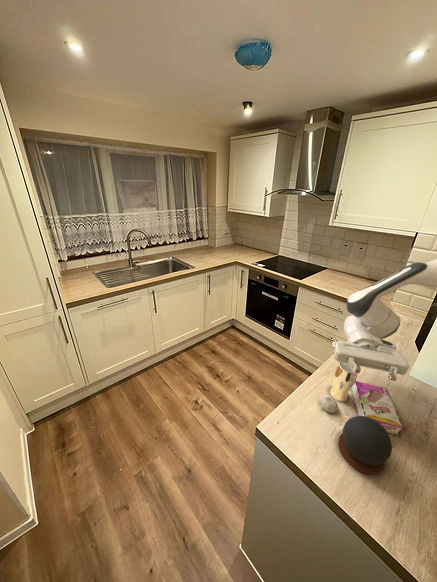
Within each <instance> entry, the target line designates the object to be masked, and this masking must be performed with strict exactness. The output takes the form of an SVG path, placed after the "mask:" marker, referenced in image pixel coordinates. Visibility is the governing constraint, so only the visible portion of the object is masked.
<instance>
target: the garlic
mask: <svg viewBox="0 0 437 582" xmlns="http://www.w3.org/2000/svg"><path fill="white" fill-rule="evenodd" d="M320 406H321V408H322V410H324V411H325V412H328V413H332V414H333V413H335V412H337V411H338V410H339V405H338V402H337V400H336V399H335V398H333V397H332V396H329V395H326V396H321V398H320Z"/></svg>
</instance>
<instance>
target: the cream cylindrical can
mask: <svg viewBox="0 0 437 582" xmlns="http://www.w3.org/2000/svg"><path fill="white" fill-rule="evenodd" d="M358 376H359V373H356V372H354V371H353V368H351V367H350V366H349V365H348V364H347V363H344V362H339V361H338V364H337V365H336V368H335V371H334V374H333V384H332V387H331V389H330V392H329V394H330V396H331V397H332V398H333V399H334V400H335V401H338V402H346V401H347V399H348V394H349V393H350V391H351V390H352V387H353V385H354V383H355V381H357V378H358Z"/></svg>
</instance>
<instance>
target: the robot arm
mask: <svg viewBox="0 0 437 582" xmlns="http://www.w3.org/2000/svg"><path fill="white" fill-rule="evenodd" d="M408 285H415V286H416V285H417V286H420V287H423V288H426V289H428V290H431V291H435V292H437V258H435V259H433V260H431V261H428V262H427V261H426V262H420V261H419V262H418V261H417V262H414V263H411V264H408V265H406V266H404V267H402V268H400V269H398V270H396V271H395V272H393V273H391V274H389V275H386V276H385V277H383V278H382V279H380V280H378V281H376V282H374V283H372V284H370V285H368V286H366V287H364V288H361V289H358V290H356V291H354V292H353V293H351V294H350V295H349V296H348V297H347V299H346V310H347V313H349V314H351V315H348V316H347V317H346V318H345V320H344V323H343V332H344V335H345V338H346V339H347V341H344V340H338V339H337V340H333V341H332V342H331V346H332V349H333V358H334V360H335V361H336V362H338V363H339V362H344V363H347V364H348V365H349V366H350V367H351V368H353V371H354V372H356V373H358V374H361V371H362V368H368V369H372V370H376V371H381V372H382V371H383V372H385V373H386V372H387V373H388V375H387V377H388V381H389V380H390V381H392V382H393V381H394V382H397V380H398V375H401V376H404V375H406V374H407V372H408V370H409V368H410V364H409V362H408V361H407V359H406V357H405V356H404V355H403V353H402V352H401V351H400V350H398V349H397V345H396V344H395V343H394V342H391V341H387V340H385V339H387V338H390V337H391V336H392V335H394V334H396V333H397V331H398V330H399V328H400V325H401V318H400V316H399V315H398V314H397V313H396V312H395V311H394V310H393V309H391V308H390V307H389V306H387V304H385V302H383V301H382V300H381V298H382V297H384V296H386V295H389V294H390V293H392V292H394V291H396V290H398V289H400V288H402V287H404V286H405V287H406V286H408Z"/></svg>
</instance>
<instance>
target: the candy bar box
mask: <svg viewBox="0 0 437 582" xmlns="http://www.w3.org/2000/svg"><path fill="white" fill-rule="evenodd" d="M351 390H352V393H353V397H354V401H355V406H356V411H357V414H358V415H357V416H366V417H369V418H372V419H374V420H375V421H377V422H378V423H380V424H381V425H382V426H383V427H384V429H385V430H386V431H387V433H391V434H394V435H396V436H397V435H398V436H399V435H400V432H401V431H402V430H403V423H402V421H401V419H400V417H399V415H398V412H397V410H396V408H395V404H394V403H393V400H392V397H391V395H390V393H389V390H388V388H387V387H383V386H378V385H374V384H370V383H366V382H361V381H357V380H356V381H355V383H354V385H353V386H352V388H351Z"/></svg>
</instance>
